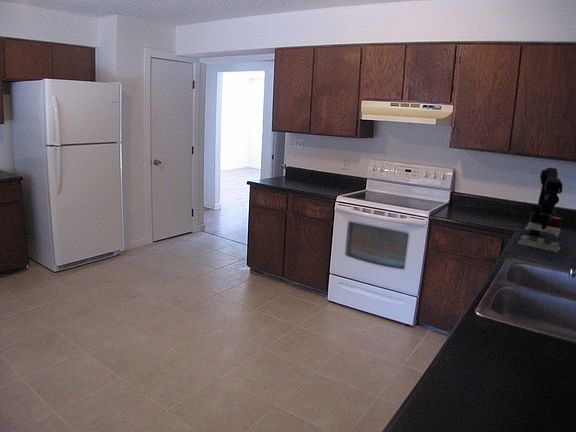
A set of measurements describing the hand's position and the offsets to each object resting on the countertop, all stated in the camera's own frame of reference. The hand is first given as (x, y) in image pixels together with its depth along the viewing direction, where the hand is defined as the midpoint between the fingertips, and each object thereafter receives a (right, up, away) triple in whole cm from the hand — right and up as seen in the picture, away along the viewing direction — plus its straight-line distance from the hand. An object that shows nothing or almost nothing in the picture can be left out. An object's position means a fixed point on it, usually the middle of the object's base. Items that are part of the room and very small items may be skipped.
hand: (543, 229), depth 261 cm
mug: (+26, -3, +39) cm, 47 cm away
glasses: (-1, -1, -1) cm, 2 cm away
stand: (-2, -10, +1) cm, 10 cm away
